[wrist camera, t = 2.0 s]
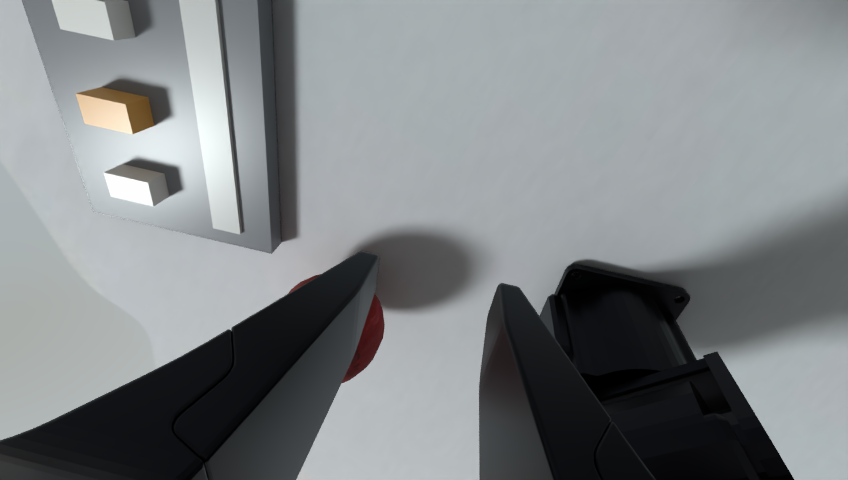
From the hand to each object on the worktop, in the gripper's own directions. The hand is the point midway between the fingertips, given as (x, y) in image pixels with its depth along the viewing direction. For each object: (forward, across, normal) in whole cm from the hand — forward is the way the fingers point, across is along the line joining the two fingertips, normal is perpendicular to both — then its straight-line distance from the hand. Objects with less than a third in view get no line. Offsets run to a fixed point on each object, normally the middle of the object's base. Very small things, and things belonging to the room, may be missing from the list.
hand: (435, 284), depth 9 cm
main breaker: (+11, +16, +2) cm, 20 cm away
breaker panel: (+12, +15, 0) cm, 19 cm away
